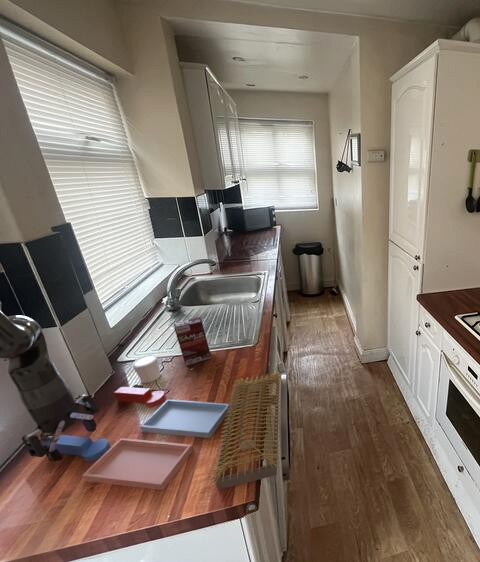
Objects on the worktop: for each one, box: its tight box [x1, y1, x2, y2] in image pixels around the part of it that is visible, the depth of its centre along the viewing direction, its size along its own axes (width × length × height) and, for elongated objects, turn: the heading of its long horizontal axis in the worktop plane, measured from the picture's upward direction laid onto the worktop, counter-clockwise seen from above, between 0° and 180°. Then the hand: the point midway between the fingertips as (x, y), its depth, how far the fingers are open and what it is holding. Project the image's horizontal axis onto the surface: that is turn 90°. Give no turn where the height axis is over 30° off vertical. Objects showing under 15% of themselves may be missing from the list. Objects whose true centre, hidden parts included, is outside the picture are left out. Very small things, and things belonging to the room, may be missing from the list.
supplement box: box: [173, 316, 212, 367], centre depth 111 cm, size 9×5×16 cm, turn 123°
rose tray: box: [81, 437, 194, 491], centre depth 74 cm, size 20×10×2 cm, turn 83°
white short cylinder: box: [131, 354, 161, 384], centre depth 104 cm, size 7×7×7 cm
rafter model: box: [209, 370, 281, 491], centre depth 84 cm, size 35×14×6 cm, turn 15°
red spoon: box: [113, 386, 167, 408], centre depth 95 cm, size 15×5×4 cm, turn 83°
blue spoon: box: [55, 434, 111, 463], centre depth 78 cm, size 15×5×4 cm, turn 83°
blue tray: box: [139, 398, 231, 439], centre depth 87 cm, size 20×10×2 cm, turn 83°
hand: (75, 444), depth 79 cm, fingers open, 8 cm apart
